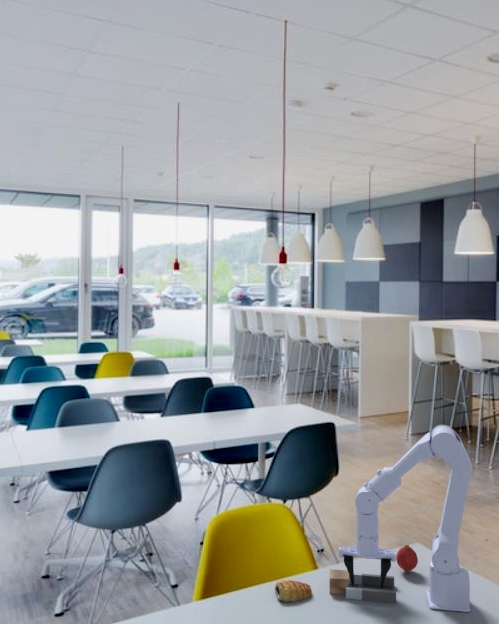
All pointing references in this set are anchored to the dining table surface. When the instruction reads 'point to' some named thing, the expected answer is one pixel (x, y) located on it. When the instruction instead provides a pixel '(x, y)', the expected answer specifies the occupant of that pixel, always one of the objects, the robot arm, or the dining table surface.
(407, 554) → the pomegranate
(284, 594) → the pastry
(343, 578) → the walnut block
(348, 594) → the grey i-beam block
